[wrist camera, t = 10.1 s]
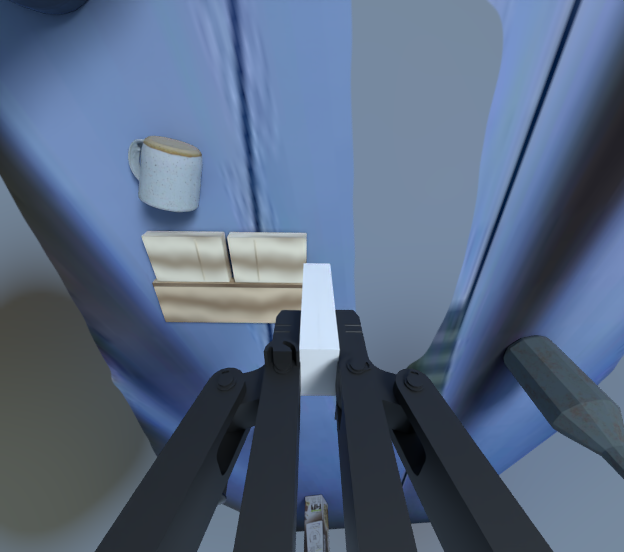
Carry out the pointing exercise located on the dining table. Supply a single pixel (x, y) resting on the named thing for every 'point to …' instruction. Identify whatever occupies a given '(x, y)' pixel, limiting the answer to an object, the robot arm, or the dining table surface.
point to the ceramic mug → (167, 173)
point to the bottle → (568, 397)
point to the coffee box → (316, 525)
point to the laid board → (226, 301)
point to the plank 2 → (267, 256)
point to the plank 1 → (188, 256)
